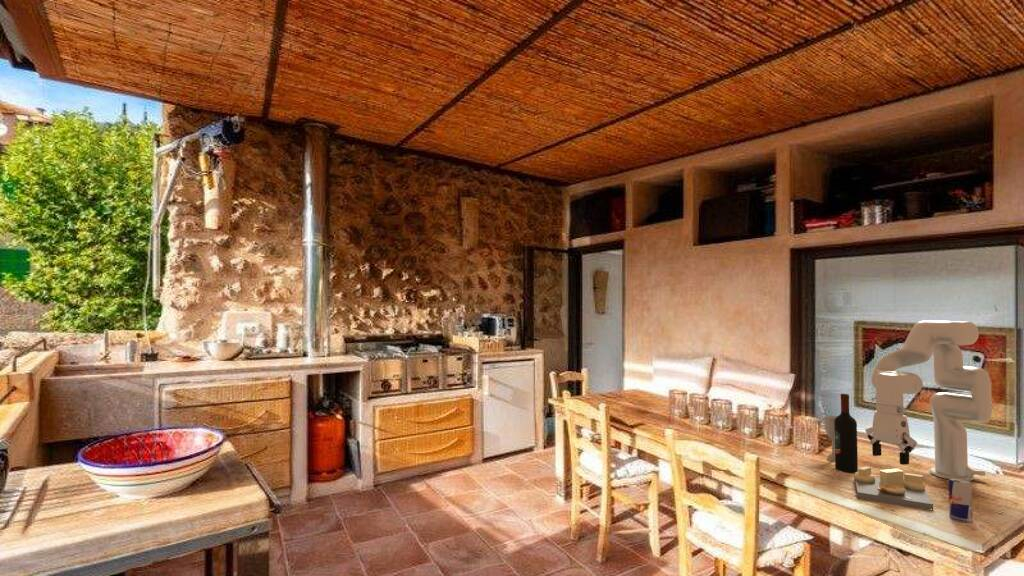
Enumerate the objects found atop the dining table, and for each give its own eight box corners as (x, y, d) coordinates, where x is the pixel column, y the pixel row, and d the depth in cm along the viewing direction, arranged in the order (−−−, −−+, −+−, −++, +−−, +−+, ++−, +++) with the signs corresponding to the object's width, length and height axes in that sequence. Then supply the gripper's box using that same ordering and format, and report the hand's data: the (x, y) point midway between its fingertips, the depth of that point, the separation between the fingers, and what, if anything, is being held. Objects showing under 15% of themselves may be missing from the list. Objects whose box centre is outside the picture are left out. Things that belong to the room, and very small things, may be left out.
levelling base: (922, 490, 178) (921, 472, 178) (933, 510, 160) (932, 490, 161) (854, 479, 188) (853, 462, 188) (857, 498, 171) (857, 479, 171)
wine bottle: (851, 474, 194) (849, 396, 195) (831, 468, 201) (829, 393, 202) (862, 471, 198) (860, 395, 198) (842, 465, 204) (840, 392, 205)
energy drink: (944, 516, 156) (943, 477, 157) (960, 515, 157) (959, 476, 157) (961, 523, 151) (960, 483, 151) (977, 522, 152) (976, 483, 152)
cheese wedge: (890, 486, 175) (889, 466, 175) (910, 494, 168) (909, 473, 168) (869, 488, 173) (869, 468, 173) (889, 496, 166) (888, 475, 166)
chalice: (838, 457, 215) (837, 415, 215) (847, 462, 208) (846, 419, 208) (820, 457, 215) (819, 415, 216) (829, 462, 209) (828, 418, 209)
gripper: (924, 414, 164) (925, 467, 163) (874, 404, 181) (875, 451, 180) (906, 415, 162) (906, 468, 162) (857, 404, 179) (858, 453, 178)
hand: (890, 459), depth 171 cm, fingers open, 9 cm apart
